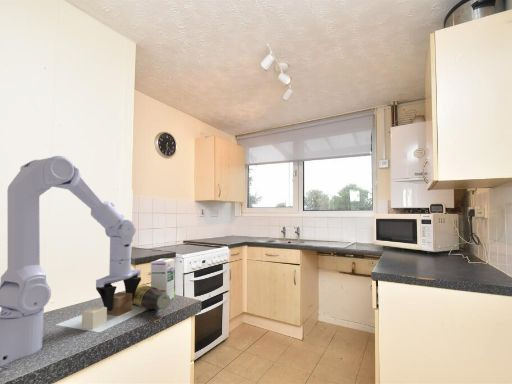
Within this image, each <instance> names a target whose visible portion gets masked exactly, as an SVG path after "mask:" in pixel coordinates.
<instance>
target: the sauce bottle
mask: <svg viewBox="0 0 512 384" xmlns="http://www.w3.org/2000/svg"><path fill="white" fill-rule="evenodd" d="M170 303H171V302H170V297H169V296H168V295H167V294H163V292H162V291H160V290H159V289H157V288H154V287H151V285H150V286H149V285H145V284H139V285H138V287H137V289H136V292H135V295H134V299H133V302H132V305H133V304H134V305H135V306H141V307H144V308H148V310H155V309H159V310H165V309H167V308H168V307H169V305H170Z"/></svg>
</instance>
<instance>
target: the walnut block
mask: <svg viewBox="0 0 512 384" xmlns="http://www.w3.org/2000/svg"><path fill="white" fill-rule="evenodd" d="M132 305H133V303H132V293H125V292H124V291H118V292H115V293H114V298H113V309H112V310H111V311H107V315H113V316H120V315H122V314H125V313H127V312H129V311H131V310H132Z"/></svg>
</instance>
